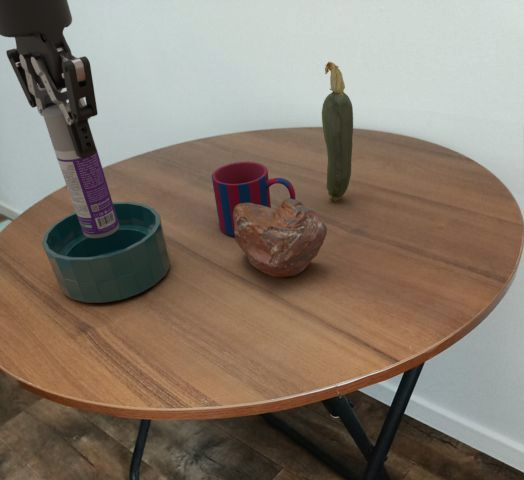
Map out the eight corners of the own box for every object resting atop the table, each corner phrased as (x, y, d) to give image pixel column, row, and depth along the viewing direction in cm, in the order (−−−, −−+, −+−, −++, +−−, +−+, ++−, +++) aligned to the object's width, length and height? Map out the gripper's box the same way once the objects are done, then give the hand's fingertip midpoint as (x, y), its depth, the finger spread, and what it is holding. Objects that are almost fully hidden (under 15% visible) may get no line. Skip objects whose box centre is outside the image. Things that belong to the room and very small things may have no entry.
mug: (235, 209, 84) (228, 159, 78) (304, 219, 79) (302, 166, 74) (210, 233, 78) (201, 181, 73) (283, 245, 74) (279, 191, 69)
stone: (330, 264, 69) (330, 193, 63) (308, 300, 64) (305, 227, 57) (245, 251, 74) (236, 183, 67) (217, 283, 68) (205, 213, 62)
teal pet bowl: (41, 280, 73) (21, 235, 68) (129, 235, 80) (117, 192, 76) (99, 321, 64) (81, 273, 60) (193, 266, 72) (183, 220, 67)
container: (120, 218, 70) (85, 99, 60) (118, 234, 66) (81, 111, 56) (84, 223, 69) (44, 105, 60) (81, 240, 66) (37, 117, 56)
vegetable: (356, 200, 82) (361, 59, 69) (339, 210, 80) (341, 67, 67) (334, 193, 85) (334, 56, 72) (317, 203, 83) (314, 64, 69)
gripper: (-50, -22, 52) (18, 149, 63) (15, -19, 44) (79, 176, 55) (20, -33, 56) (72, 130, 67) (91, -33, 48) (137, 152, 59)
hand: (75, 150), depth 61 cm, fingers closed on container, 4 cm apart
